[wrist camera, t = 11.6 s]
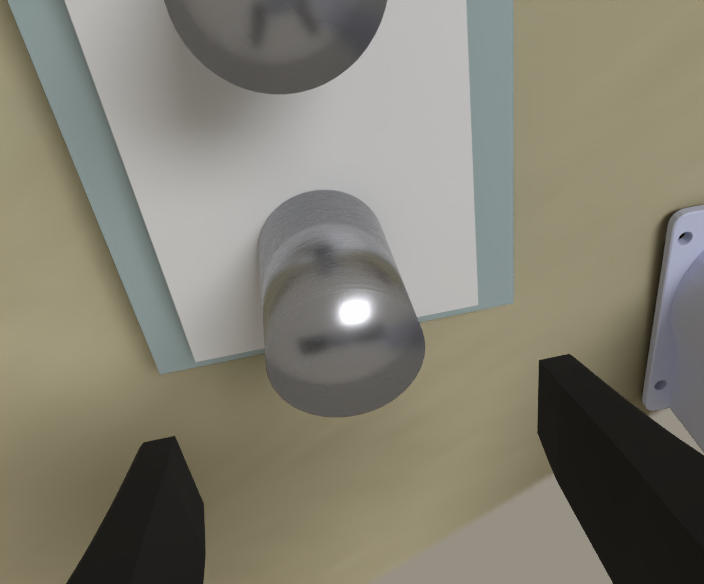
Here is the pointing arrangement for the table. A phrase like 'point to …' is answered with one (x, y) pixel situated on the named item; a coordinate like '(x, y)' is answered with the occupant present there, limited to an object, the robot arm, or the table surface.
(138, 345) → the table surface
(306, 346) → the cylinder
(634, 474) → the robot arm
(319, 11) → the cylinder
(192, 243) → the scale
